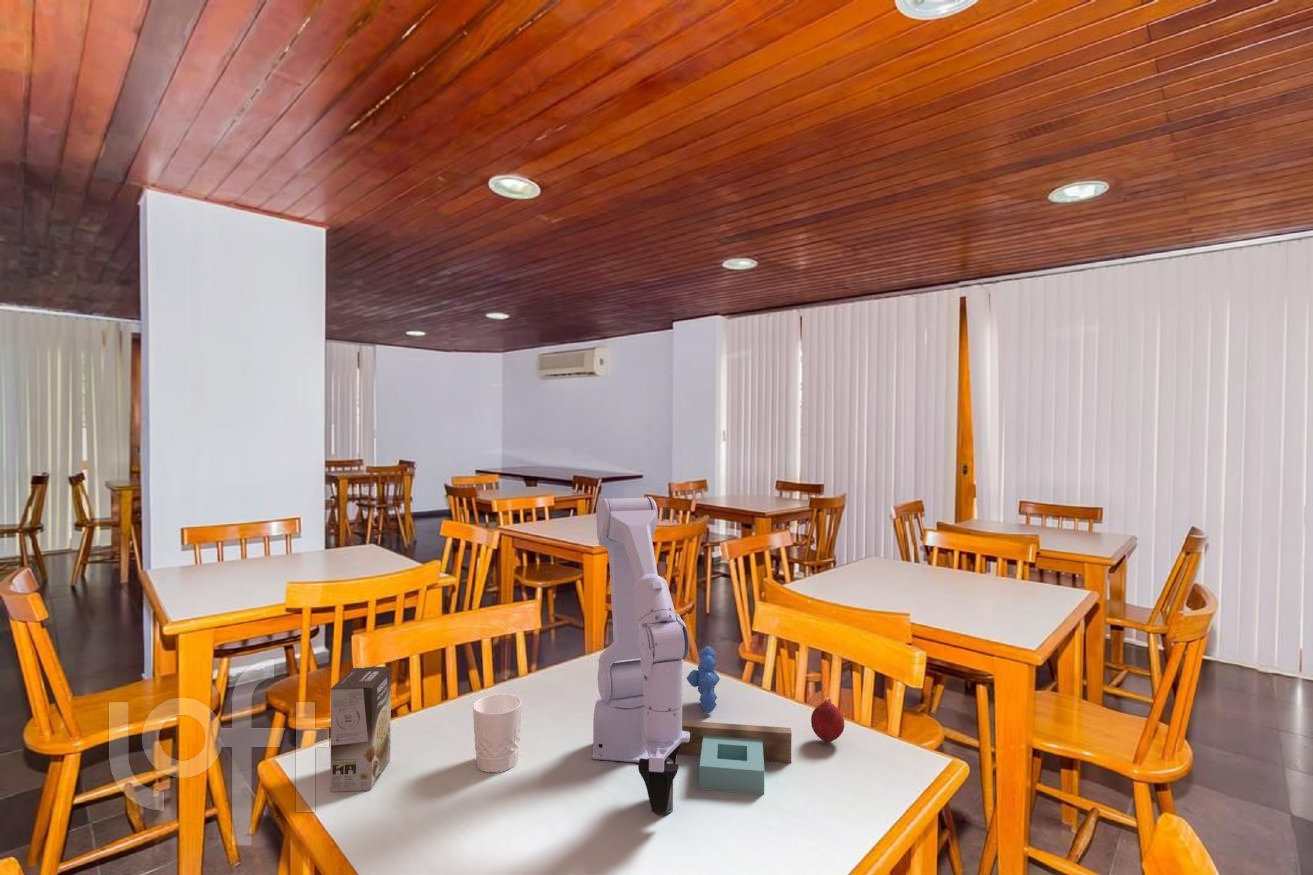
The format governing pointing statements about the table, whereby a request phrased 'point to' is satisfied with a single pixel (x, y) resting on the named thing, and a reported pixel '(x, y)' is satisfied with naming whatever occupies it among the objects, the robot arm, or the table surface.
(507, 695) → the white cup
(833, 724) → the onion
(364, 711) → the coffee box
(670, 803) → the dowel
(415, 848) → the table surface
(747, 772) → the block
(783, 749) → the wall
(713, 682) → the grapes
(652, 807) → the robot arm
